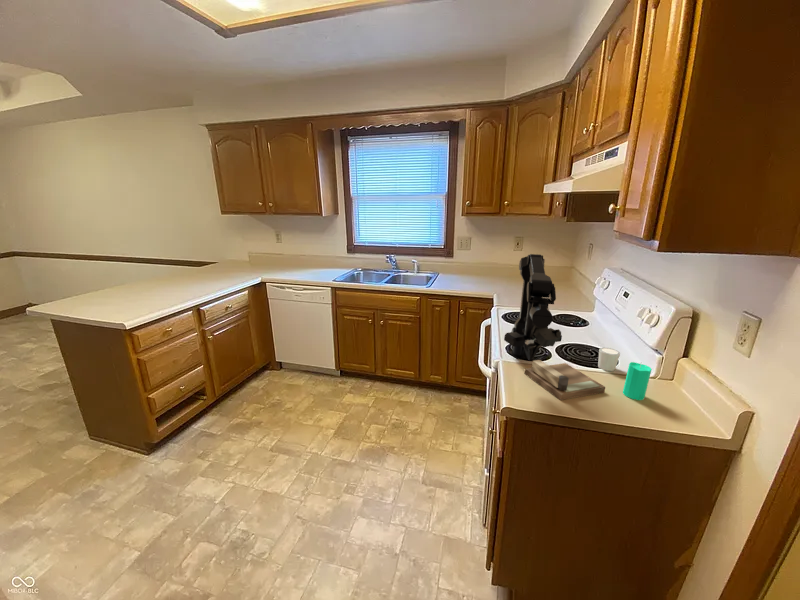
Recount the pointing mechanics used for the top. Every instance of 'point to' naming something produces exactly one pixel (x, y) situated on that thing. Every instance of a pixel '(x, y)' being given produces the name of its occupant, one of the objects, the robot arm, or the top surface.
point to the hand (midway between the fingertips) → (529, 360)
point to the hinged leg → (550, 374)
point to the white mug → (608, 359)
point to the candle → (636, 381)
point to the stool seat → (576, 383)
